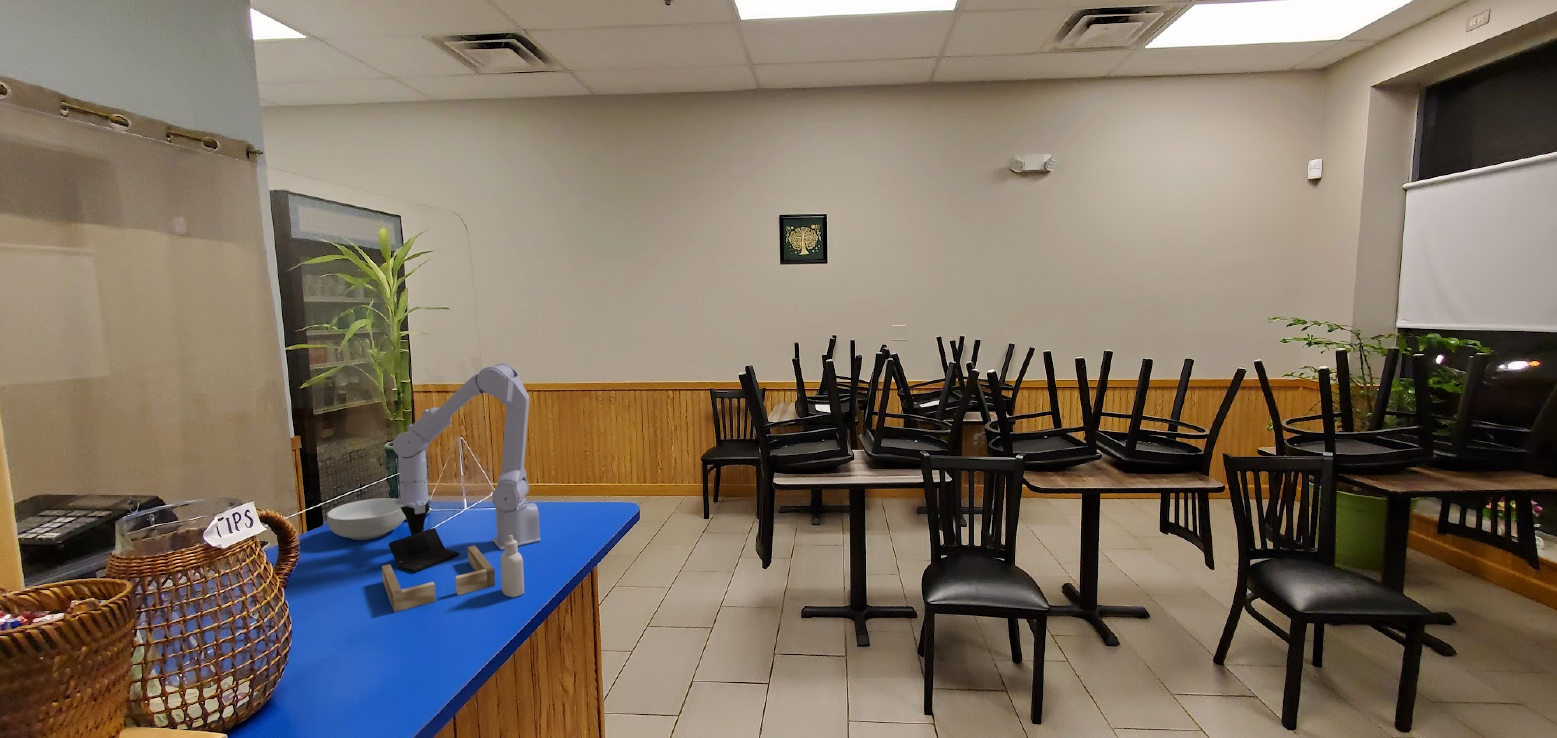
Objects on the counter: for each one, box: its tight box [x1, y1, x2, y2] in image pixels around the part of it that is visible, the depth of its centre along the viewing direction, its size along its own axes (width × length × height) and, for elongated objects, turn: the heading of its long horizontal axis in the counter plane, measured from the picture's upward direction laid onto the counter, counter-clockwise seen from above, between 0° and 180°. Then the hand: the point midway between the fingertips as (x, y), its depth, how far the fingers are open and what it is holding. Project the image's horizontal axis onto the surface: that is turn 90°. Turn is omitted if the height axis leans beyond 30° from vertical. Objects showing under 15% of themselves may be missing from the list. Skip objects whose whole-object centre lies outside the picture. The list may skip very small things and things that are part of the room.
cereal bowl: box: [326, 497, 406, 541], centre depth 155 cm, size 17×17×7 cm
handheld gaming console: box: [388, 527, 460, 574], centre depth 139 cm, size 12×7×10 cm
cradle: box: [381, 544, 496, 613], centre depth 128 cm, size 18×16×4 cm
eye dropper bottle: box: [500, 535, 525, 598], centre depth 124 cm, size 4×6×12 cm
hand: (416, 534), depth 147 cm, fingers closed
